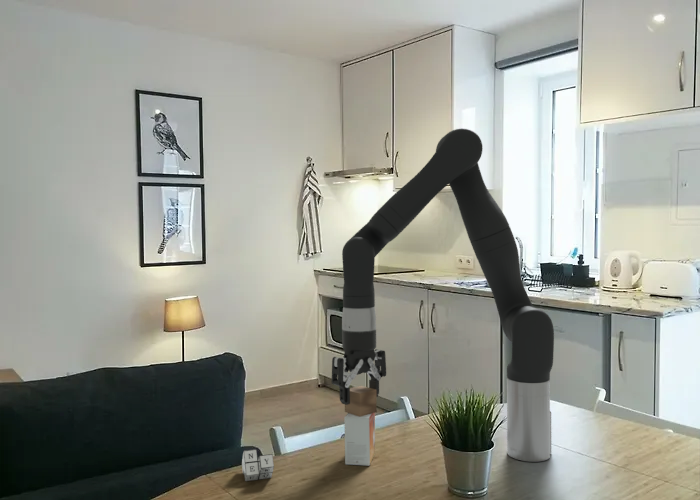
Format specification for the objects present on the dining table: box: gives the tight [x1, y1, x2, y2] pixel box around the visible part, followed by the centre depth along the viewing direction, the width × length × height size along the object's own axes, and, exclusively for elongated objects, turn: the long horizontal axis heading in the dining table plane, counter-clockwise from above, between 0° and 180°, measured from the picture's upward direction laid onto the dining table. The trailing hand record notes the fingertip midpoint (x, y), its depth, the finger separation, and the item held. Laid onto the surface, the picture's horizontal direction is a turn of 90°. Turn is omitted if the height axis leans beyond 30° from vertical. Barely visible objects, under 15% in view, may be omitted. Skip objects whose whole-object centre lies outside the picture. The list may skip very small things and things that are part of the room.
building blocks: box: [241, 448, 275, 482], centre depth 125 cm, size 5×5×8 cm
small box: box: [343, 412, 376, 467], centre depth 135 cm, size 8×6×10 cm
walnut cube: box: [344, 385, 378, 417], centre depth 135 cm, size 5×5×5 cm
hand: (360, 400), depth 134 cm, fingers open, 8 cm apart
